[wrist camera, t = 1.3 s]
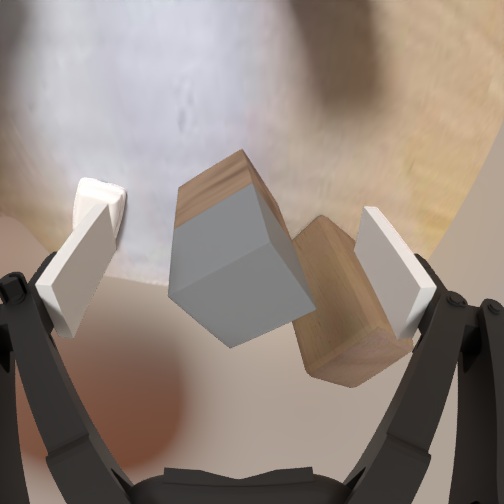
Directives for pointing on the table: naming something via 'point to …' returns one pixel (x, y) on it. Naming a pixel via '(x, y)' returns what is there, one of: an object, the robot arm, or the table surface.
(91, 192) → the soap
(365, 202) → the table surface
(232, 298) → the grey cube
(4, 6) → the table surface
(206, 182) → the walnut base cube
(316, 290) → the block
